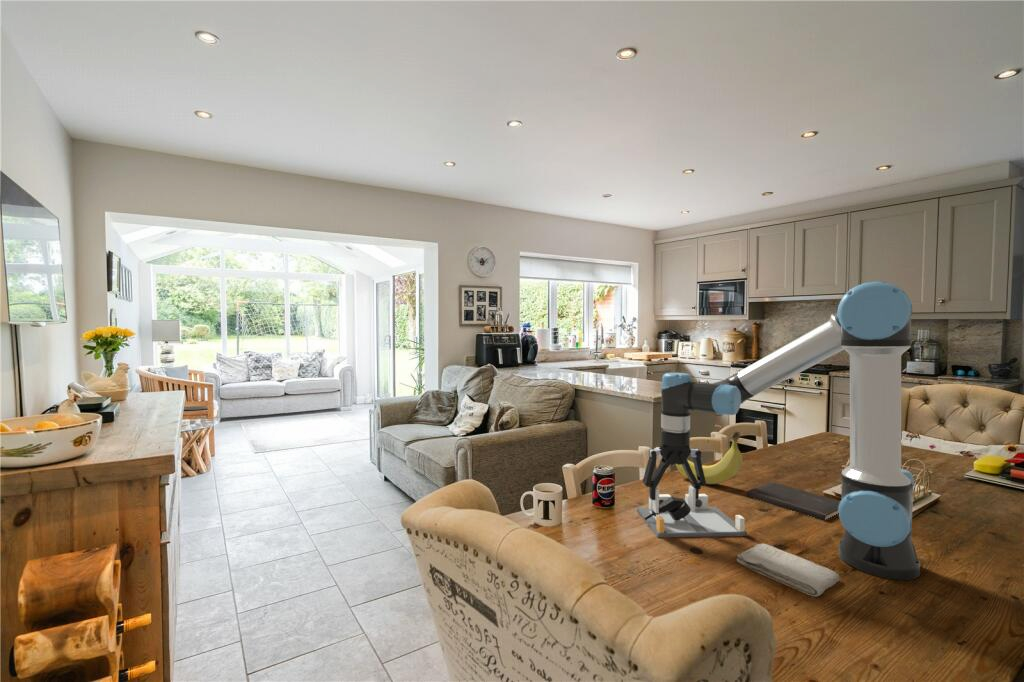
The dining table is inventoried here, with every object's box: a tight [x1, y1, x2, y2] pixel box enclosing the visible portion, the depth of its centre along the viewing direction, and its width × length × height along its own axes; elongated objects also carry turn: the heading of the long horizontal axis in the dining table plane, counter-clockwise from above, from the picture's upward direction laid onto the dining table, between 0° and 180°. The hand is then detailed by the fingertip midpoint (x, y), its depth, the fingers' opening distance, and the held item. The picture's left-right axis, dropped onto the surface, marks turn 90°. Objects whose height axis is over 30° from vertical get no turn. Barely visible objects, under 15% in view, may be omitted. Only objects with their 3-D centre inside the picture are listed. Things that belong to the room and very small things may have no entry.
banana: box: [675, 430, 744, 485], centre depth 165 cm, size 23×6×20 cm, turn 47°
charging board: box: [636, 493, 748, 538], centre depth 133 cm, size 17×24×5 cm
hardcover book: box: [746, 481, 841, 522], centre depth 148 cm, size 16×23×2 cm
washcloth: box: [736, 542, 840, 597], centre depth 107 cm, size 12×18×3 cm, turn 36°
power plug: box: [643, 496, 691, 524], centre depth 131 cm, size 6×8×12 cm
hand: (673, 510), depth 130 cm, fingers closed on power plug, 9 cm apart
